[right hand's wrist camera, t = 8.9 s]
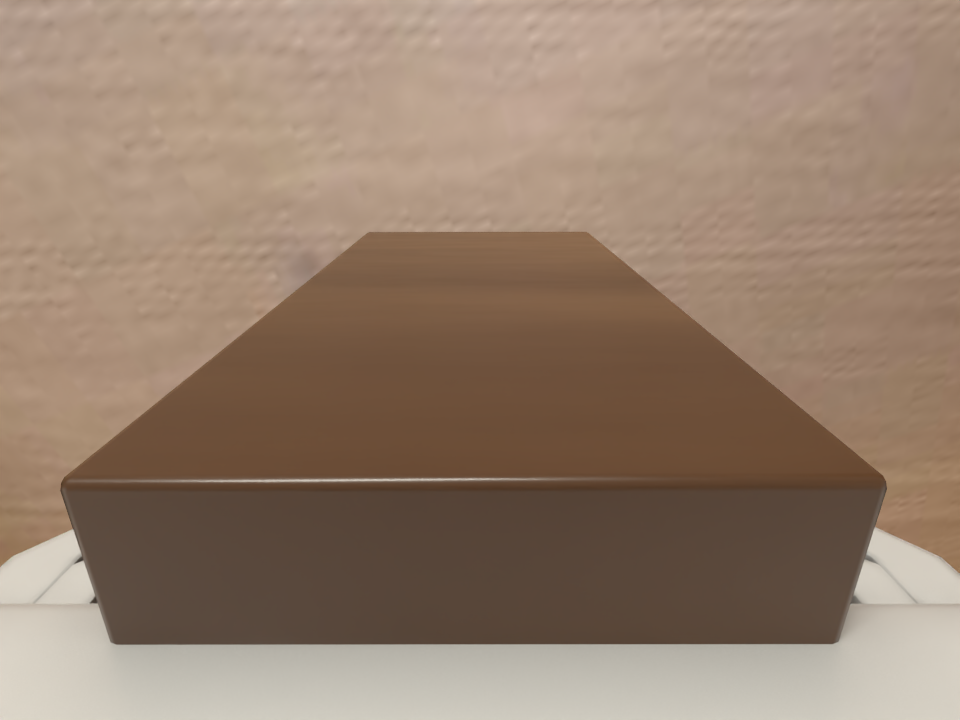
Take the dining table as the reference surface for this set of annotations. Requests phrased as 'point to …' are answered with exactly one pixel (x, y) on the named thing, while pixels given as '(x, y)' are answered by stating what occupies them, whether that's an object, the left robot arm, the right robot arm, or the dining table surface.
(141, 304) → the dining table surface
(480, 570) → the box
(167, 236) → the dining table surface
